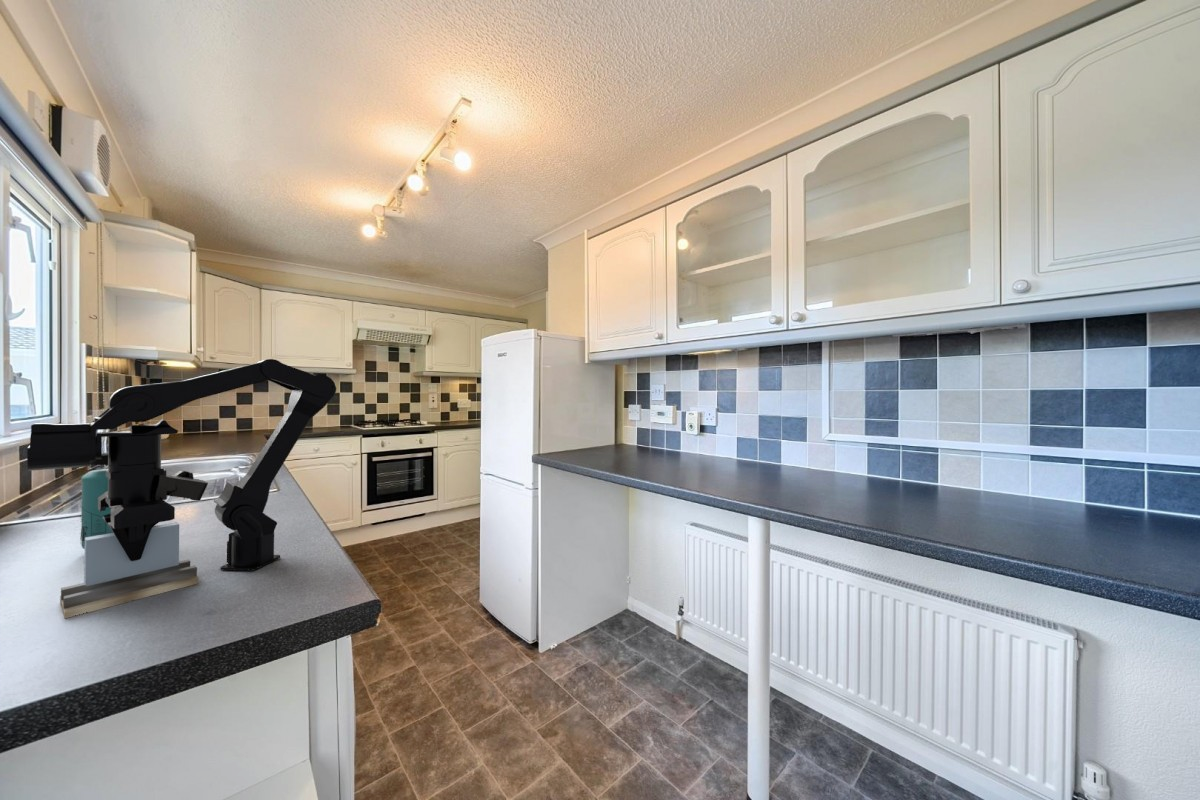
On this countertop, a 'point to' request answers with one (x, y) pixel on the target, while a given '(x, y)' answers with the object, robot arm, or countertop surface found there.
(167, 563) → the door panel
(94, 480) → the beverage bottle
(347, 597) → the countertop surface
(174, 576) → the door track
